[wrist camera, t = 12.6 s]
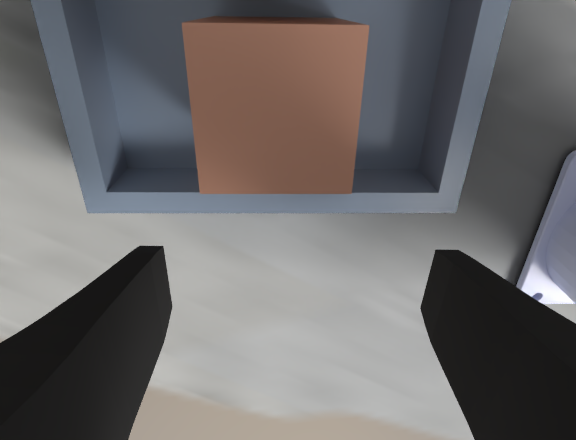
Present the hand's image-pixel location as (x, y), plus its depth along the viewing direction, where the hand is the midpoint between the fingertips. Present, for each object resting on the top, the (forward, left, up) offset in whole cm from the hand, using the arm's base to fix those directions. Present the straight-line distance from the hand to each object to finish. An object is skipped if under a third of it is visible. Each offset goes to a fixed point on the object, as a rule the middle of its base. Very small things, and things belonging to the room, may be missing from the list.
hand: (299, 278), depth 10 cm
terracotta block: (+1, -4, -6) cm, 7 cm away
